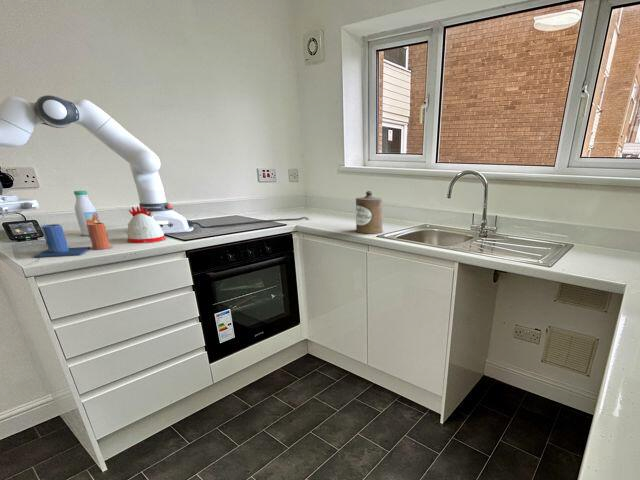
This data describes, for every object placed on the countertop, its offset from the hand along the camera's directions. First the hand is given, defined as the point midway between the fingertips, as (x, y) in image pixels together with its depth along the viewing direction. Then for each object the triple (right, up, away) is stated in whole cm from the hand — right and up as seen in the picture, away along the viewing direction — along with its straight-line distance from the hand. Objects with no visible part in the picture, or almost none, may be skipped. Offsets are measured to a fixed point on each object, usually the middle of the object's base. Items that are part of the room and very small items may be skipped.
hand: (20, 207), depth 131 cm
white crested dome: (+26, -7, +30) cm, 40 cm away
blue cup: (+11, -16, +4) cm, 20 cm away
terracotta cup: (+19, -13, +13) cm, 27 cm away
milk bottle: (-5, -3, +37) cm, 37 cm away
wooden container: (+125, +4, +68) cm, 143 cm away
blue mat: (+12, -16, +4) cm, 21 cm away
